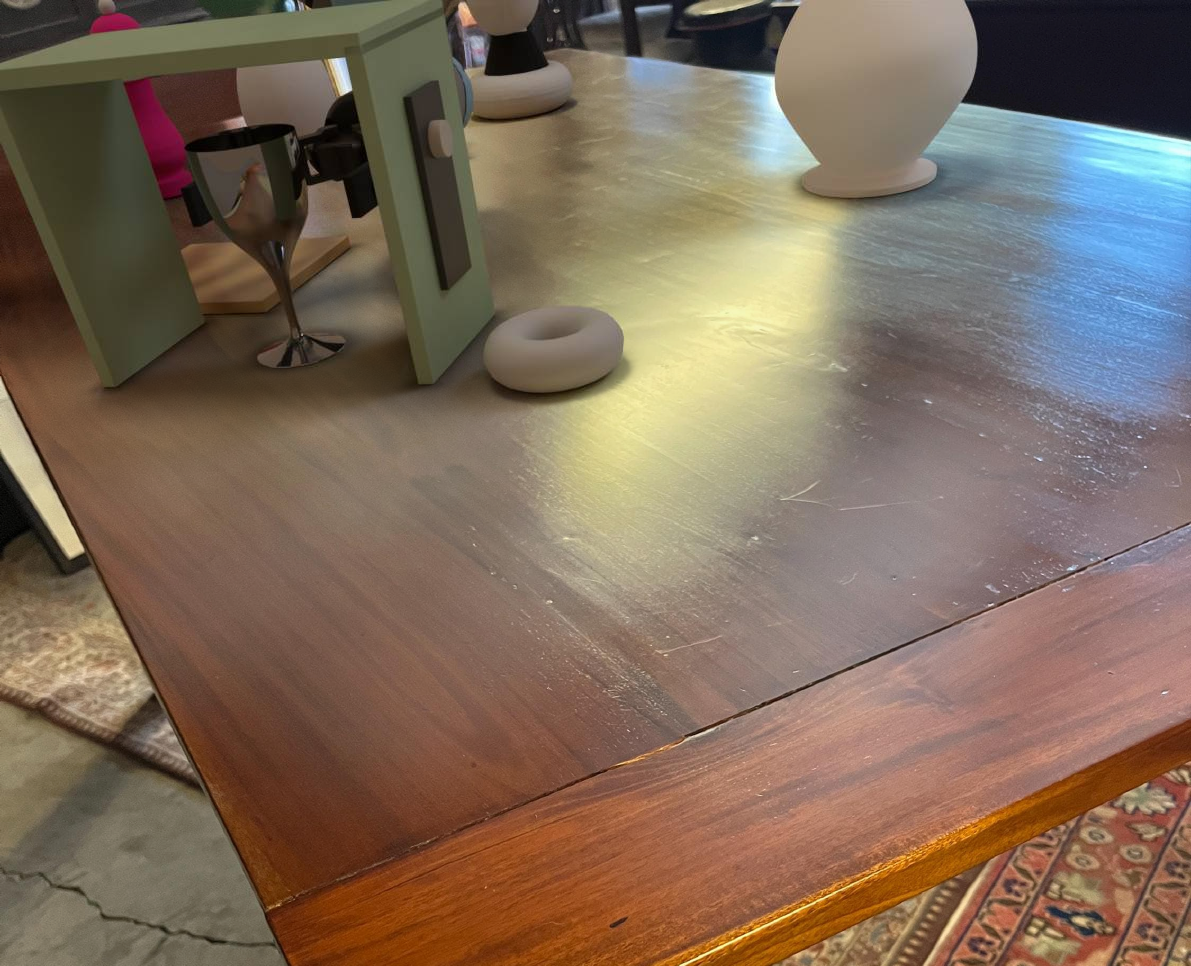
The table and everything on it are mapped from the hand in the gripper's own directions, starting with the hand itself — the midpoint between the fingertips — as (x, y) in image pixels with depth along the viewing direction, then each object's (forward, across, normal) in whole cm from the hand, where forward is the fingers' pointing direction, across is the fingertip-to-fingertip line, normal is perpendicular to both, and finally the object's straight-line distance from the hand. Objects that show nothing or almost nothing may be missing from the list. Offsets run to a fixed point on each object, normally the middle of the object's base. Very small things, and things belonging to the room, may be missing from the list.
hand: (269, 203), depth 82 cm
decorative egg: (-69, +35, -11) cm, 78 cm away
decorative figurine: (-85, +9, -11) cm, 86 cm away
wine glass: (+1, 0, -11) cm, 11 cm away
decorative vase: (-40, -41, -11) cm, 58 cm away
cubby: (+1, 0, -10) cm, 10 cm away
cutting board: (-17, +17, -10) cm, 26 cm away
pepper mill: (-52, +45, -11) cm, 69 cm away
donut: (+6, -23, -11) cm, 26 cm away
